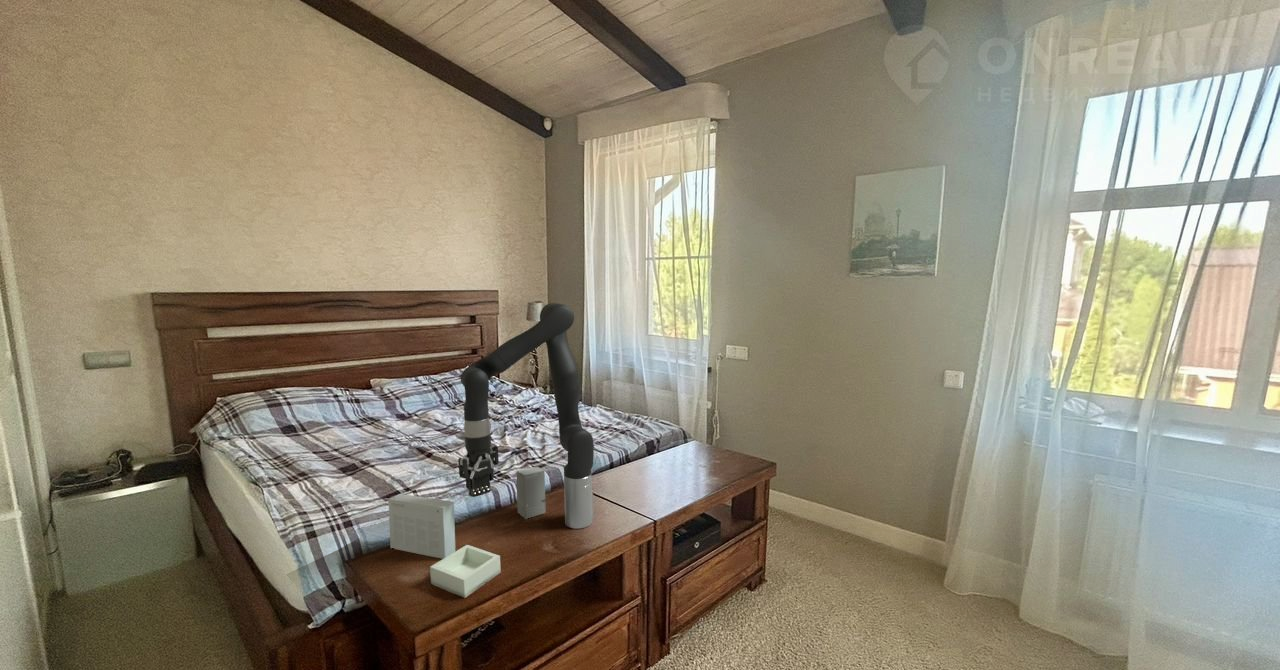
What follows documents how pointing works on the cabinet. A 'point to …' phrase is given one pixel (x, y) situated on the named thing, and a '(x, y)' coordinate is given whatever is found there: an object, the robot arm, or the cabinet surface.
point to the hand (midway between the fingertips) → (480, 484)
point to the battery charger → (481, 478)
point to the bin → (465, 570)
